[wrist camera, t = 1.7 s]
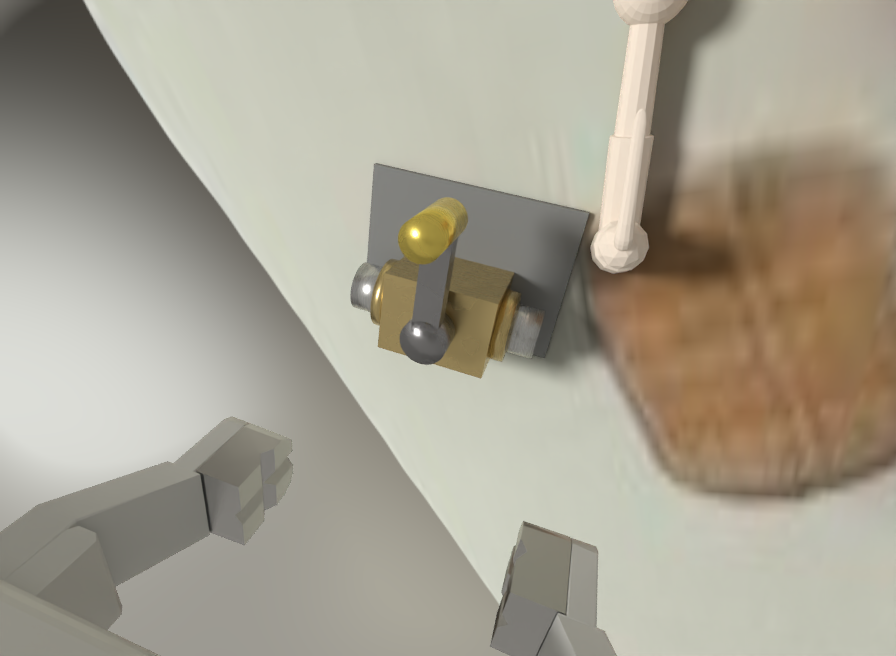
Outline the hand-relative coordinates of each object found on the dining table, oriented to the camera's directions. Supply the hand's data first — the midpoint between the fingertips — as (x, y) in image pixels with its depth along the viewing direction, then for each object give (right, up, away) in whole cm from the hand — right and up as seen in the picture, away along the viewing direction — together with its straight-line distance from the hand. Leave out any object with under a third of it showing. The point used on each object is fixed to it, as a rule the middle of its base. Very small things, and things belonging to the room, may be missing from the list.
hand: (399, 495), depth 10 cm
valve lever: (+1, +7, +20) cm, 22 cm away
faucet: (+13, +16, +20) cm, 29 cm away
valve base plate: (+2, +9, +27) cm, 28 cm away
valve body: (+2, +6, +28) cm, 28 cm away
